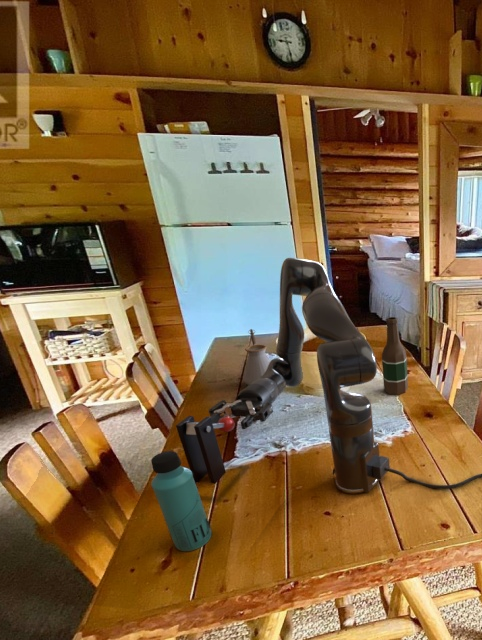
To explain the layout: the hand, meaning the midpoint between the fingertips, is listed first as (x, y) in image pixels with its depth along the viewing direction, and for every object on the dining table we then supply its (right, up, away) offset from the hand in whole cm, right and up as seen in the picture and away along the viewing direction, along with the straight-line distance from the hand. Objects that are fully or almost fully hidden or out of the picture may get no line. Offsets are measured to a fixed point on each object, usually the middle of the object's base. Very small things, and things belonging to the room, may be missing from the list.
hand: (225, 425), depth 104 cm
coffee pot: (-11, +14, +48) cm, 51 cm away
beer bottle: (+36, +9, +39) cm, 54 cm away
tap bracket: (-1, -13, -4) cm, 13 cm away
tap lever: (-1, -2, -5) cm, 5 cm away
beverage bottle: (+5, -22, -22) cm, 31 cm away
